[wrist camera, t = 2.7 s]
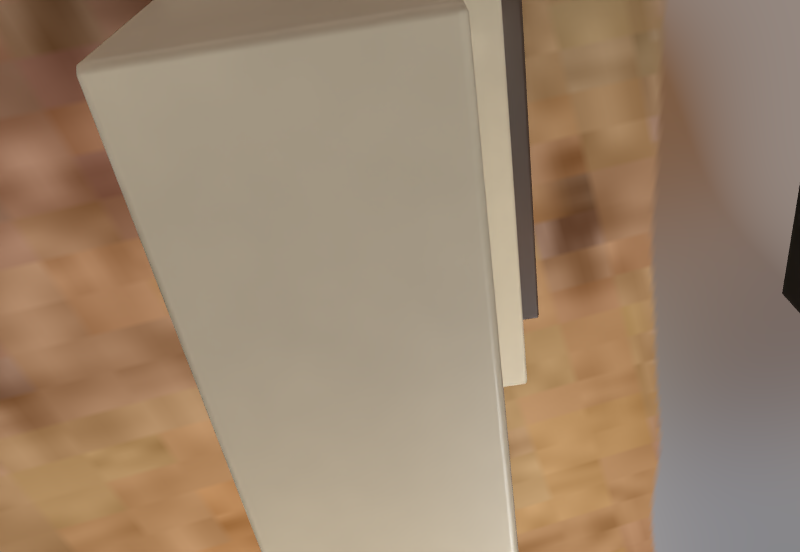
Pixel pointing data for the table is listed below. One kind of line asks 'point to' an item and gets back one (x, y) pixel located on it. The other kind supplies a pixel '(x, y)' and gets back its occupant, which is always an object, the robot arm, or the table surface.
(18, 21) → the table surface
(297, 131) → the eraser
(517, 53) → the riser
